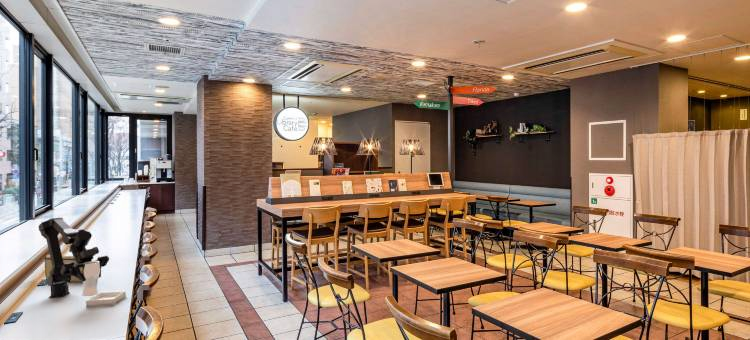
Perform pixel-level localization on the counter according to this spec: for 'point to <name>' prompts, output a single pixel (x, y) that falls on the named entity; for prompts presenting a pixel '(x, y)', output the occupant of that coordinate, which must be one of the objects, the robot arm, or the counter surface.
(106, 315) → the counter surface
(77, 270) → the robot arm
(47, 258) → the clutch purse
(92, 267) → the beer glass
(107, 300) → the tray
